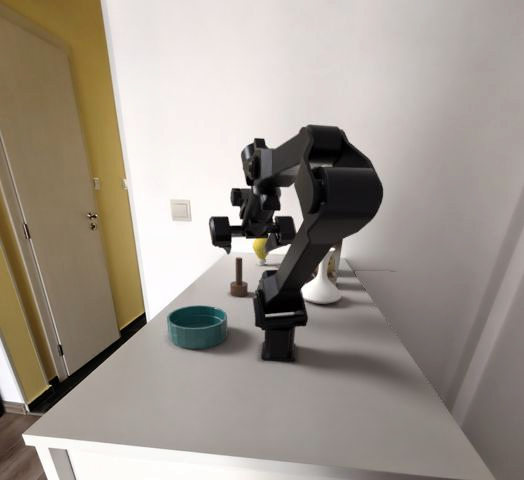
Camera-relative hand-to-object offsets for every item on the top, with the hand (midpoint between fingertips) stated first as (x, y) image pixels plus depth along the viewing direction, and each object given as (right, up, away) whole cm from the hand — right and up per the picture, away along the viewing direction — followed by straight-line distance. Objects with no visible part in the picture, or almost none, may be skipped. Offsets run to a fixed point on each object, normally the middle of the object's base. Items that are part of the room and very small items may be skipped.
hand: (246, 252), depth 80 cm
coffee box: (+22, -4, +23) cm, 32 cm away
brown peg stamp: (-3, -8, +13) cm, 16 cm away
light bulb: (+3, +7, +41) cm, 42 cm away
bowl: (-10, -21, -10) cm, 25 cm away
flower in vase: (+19, -10, +11) cm, 24 cm away
